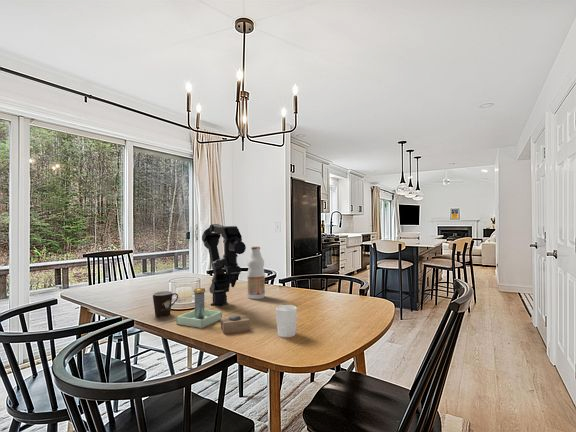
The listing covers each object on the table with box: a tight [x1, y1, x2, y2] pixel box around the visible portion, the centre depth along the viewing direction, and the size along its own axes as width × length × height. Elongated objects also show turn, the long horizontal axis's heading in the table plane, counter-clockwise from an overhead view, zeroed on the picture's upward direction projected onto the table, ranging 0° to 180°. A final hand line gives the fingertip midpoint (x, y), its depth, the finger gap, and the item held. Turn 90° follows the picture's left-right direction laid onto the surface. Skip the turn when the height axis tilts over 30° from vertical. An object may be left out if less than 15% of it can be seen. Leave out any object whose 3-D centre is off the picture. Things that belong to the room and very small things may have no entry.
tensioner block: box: [220, 314, 250, 334], centre depth 131 cm, size 7×10×5 cm
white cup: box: [275, 304, 298, 338], centre depth 124 cm, size 8×8×10 cm
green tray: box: [176, 308, 223, 329], centre depth 141 cm, size 13×13×3 cm
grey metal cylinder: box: [193, 287, 206, 320], centre depth 141 cm, size 5×5×13 cm
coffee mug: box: [152, 290, 179, 318], centre depth 152 cm, size 12×9×10 cm
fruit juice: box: [247, 246, 266, 300], centre depth 183 cm, size 9×9×28 cm
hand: (230, 285), depth 157 cm, fingers open, 9 cm apart
